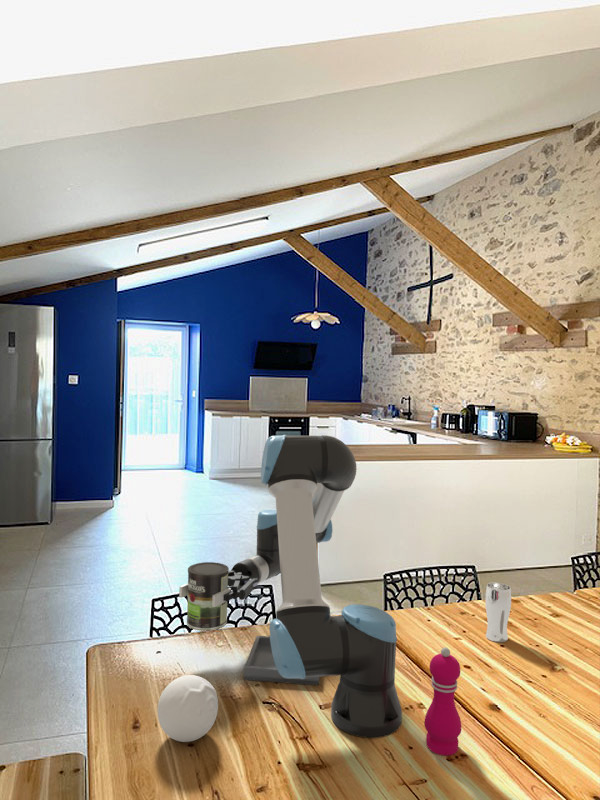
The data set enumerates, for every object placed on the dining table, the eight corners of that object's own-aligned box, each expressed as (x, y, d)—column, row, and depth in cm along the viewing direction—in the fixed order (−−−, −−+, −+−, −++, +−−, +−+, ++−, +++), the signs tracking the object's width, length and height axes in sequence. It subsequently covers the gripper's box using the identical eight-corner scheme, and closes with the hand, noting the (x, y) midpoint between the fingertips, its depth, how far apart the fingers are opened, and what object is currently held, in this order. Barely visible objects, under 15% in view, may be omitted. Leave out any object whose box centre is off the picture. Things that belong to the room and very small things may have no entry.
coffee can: (204, 635, 145) (205, 577, 145) (178, 622, 152) (179, 567, 151) (235, 622, 153) (237, 568, 152) (209, 611, 160) (210, 559, 159)
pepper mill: (461, 760, 115) (465, 658, 115) (423, 754, 117) (427, 653, 116) (459, 738, 123) (463, 642, 122) (423, 733, 124) (427, 638, 123)
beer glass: (512, 636, 172) (514, 585, 172) (506, 645, 166) (508, 592, 166) (487, 630, 176) (489, 580, 176) (481, 639, 170) (483, 587, 170)
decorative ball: (180, 764, 112) (181, 701, 112) (145, 736, 120) (146, 678, 120) (229, 737, 121) (231, 679, 120) (193, 713, 129) (194, 658, 128)
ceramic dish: (318, 685, 142) (319, 672, 142) (243, 679, 144) (244, 667, 144) (322, 651, 160) (323, 640, 160) (256, 646, 162) (256, 635, 161)
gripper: (283, 594, 162) (232, 622, 143) (217, 578, 174) (162, 601, 154) (283, 567, 162) (233, 591, 143) (218, 552, 173) (163, 573, 154)
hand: (196, 596), depth 148 cm, fingers closed on coffee can, 10 cm apart
